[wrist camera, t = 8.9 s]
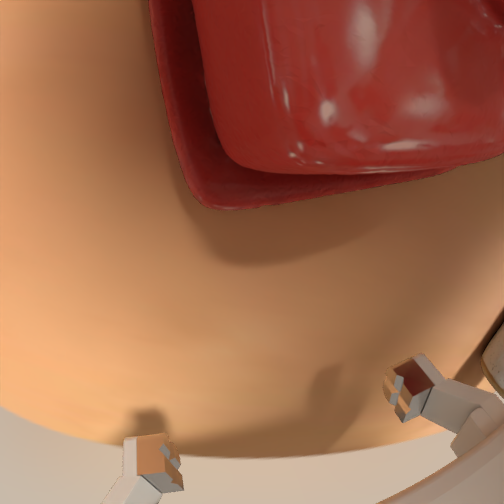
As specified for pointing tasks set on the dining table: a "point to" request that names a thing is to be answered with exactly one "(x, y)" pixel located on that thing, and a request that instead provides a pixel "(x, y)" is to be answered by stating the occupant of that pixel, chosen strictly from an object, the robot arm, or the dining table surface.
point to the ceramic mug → (495, 361)
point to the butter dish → (327, 93)
